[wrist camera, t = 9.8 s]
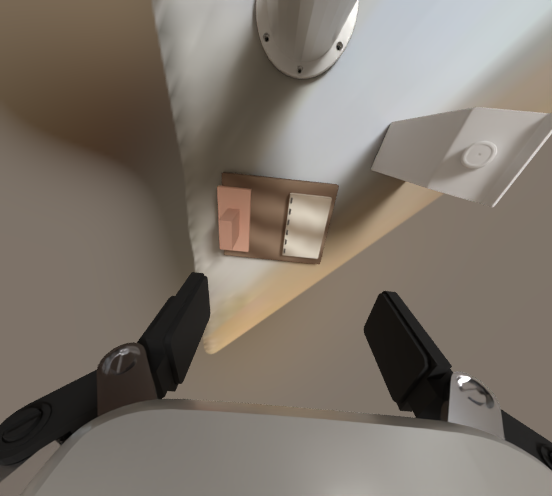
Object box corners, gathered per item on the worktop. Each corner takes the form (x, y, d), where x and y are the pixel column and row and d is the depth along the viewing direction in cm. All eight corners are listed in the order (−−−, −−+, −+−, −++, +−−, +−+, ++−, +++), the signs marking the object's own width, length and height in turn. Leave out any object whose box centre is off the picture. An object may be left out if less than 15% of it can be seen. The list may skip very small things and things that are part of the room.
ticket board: (224, 172, 35) (219, 174, 32) (336, 184, 35) (340, 187, 32) (226, 251, 42) (222, 258, 40) (318, 260, 43) (320, 267, 40)
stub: (219, 185, 34) (204, 195, 28) (251, 188, 34) (244, 199, 28) (221, 246, 40) (209, 266, 33) (249, 249, 40) (242, 269, 34)
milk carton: (432, 134, 31) (608, 125, 14) (407, 180, 34) (527, 216, 18) (390, 121, 30) (523, 97, 14) (369, 169, 34) (455, 197, 17)
